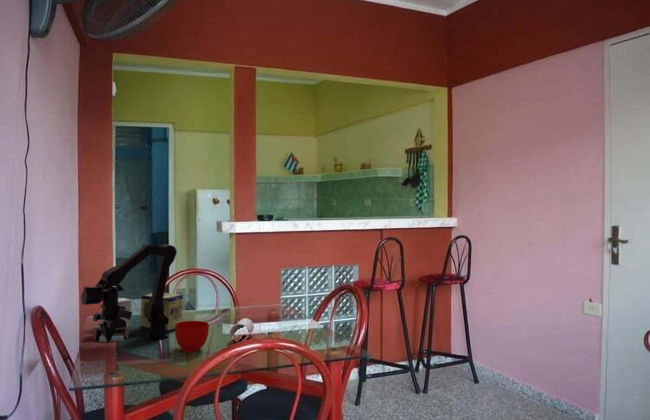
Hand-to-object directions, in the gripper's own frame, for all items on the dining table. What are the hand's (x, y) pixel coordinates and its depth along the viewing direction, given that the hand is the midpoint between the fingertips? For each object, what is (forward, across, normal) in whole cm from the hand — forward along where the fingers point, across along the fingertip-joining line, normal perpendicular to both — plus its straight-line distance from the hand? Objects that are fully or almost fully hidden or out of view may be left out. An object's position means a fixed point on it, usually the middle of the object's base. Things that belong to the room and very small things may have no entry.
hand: (108, 342), depth 206 cm
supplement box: (+2, +28, -15) cm, 32 cm away
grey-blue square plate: (+2, +10, -5) cm, 11 cm away
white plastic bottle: (+1, -20, -49) cm, 53 cm away
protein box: (+2, +14, -29) cm, 32 cm away
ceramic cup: (+2, -22, -23) cm, 32 cm away
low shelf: (+1, +12, -6) cm, 14 cm away
